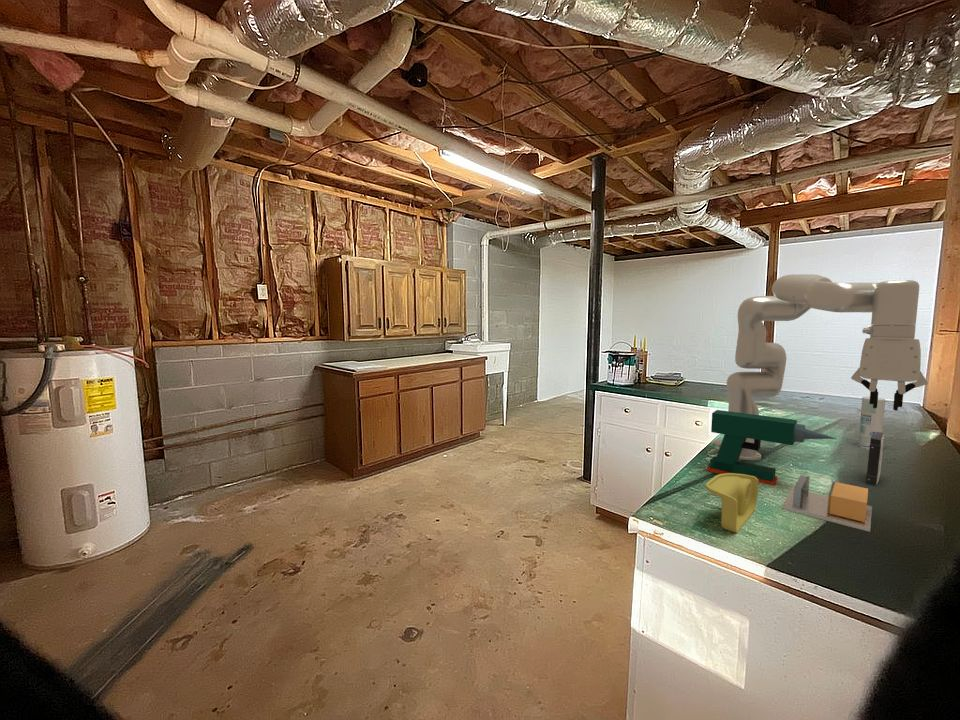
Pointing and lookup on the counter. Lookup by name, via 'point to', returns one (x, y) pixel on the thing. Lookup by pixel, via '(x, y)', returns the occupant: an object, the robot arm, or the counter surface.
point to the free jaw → (848, 501)
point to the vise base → (819, 506)
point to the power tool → (757, 429)
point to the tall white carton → (870, 420)
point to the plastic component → (735, 498)
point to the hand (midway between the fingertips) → (885, 407)
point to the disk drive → (875, 458)
